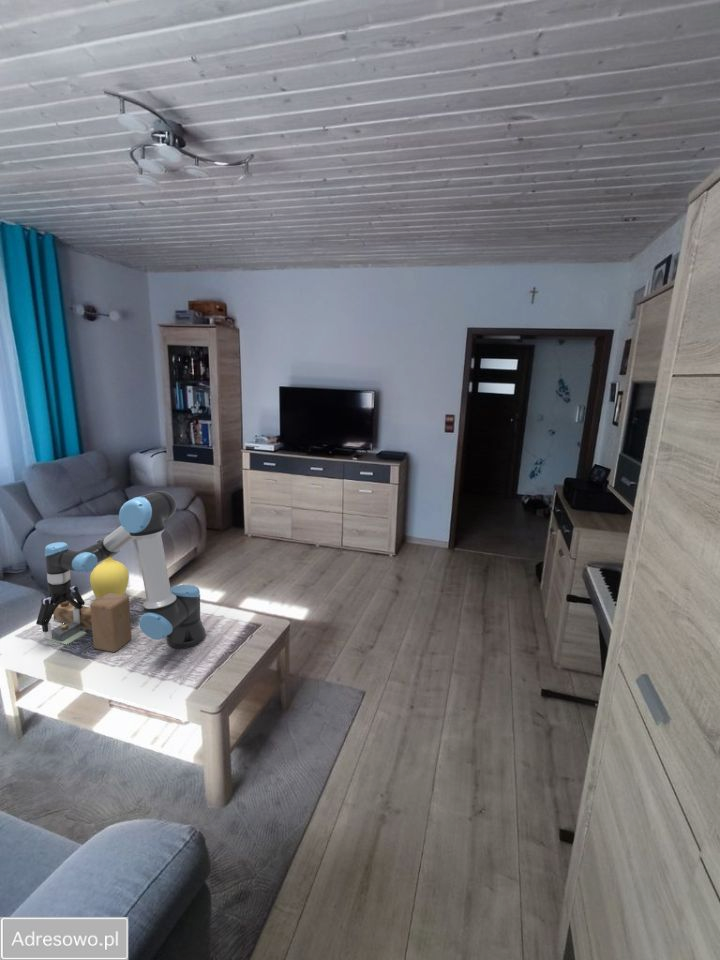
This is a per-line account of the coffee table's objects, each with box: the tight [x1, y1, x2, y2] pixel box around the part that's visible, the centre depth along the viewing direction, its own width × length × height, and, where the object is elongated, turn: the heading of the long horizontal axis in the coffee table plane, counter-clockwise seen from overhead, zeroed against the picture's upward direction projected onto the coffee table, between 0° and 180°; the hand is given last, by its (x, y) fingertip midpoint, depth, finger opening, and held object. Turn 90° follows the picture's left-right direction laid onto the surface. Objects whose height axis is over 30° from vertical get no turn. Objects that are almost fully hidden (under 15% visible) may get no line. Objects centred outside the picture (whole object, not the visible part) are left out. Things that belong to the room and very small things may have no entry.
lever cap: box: [51, 621, 81, 642], centre depth 177 cm, size 6×8×5 cm
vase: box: [89, 556, 130, 600], centre depth 205 cm, size 16×16×28 cm
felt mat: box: [43, 630, 88, 646], centre depth 177 cm, size 12×9×1 cm
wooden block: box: [89, 593, 132, 653], centre depth 172 cm, size 10×10×20 cm
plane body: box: [52, 599, 97, 632], centre depth 186 cm, size 26×5×13 cm, turn 73°
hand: (63, 630), depth 176 cm, fingers open, 12 cm apart
